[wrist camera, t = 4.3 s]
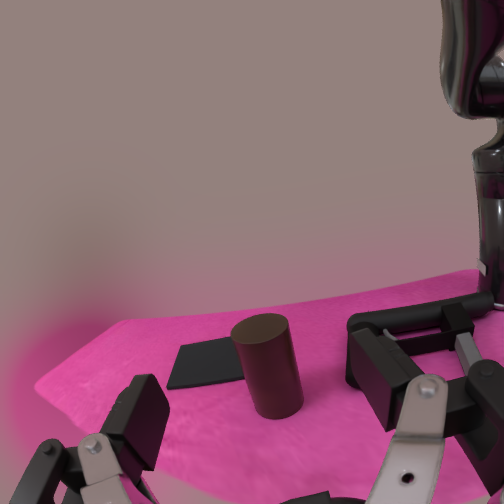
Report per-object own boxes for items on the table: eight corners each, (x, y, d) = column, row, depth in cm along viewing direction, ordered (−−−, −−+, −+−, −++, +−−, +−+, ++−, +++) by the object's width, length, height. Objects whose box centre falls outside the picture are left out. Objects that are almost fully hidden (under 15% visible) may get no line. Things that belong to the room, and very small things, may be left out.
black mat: (246, 335, 38) (245, 333, 38) (248, 378, 29) (246, 375, 28) (181, 348, 38) (180, 345, 38) (167, 389, 29) (165, 387, 29)
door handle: (540, 359, 11) (484, 281, 25) (338, 406, 18) (345, 305, 33) (529, 384, 12) (481, 303, 26) (340, 427, 19) (348, 326, 33)
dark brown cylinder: (298, 381, 26) (283, 308, 24) (308, 412, 21) (293, 334, 19) (254, 391, 26) (231, 320, 24) (256, 423, 21) (229, 349, 19)
